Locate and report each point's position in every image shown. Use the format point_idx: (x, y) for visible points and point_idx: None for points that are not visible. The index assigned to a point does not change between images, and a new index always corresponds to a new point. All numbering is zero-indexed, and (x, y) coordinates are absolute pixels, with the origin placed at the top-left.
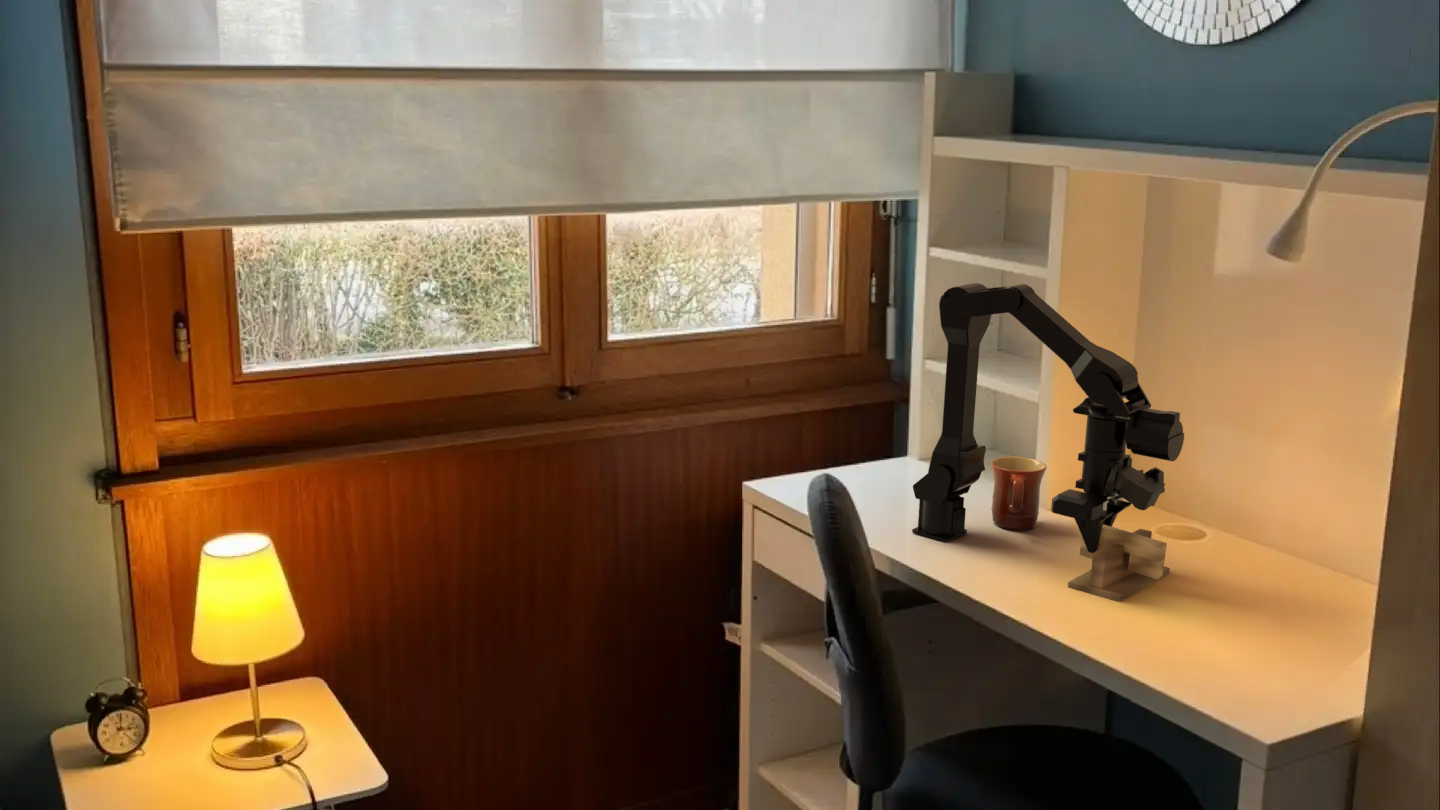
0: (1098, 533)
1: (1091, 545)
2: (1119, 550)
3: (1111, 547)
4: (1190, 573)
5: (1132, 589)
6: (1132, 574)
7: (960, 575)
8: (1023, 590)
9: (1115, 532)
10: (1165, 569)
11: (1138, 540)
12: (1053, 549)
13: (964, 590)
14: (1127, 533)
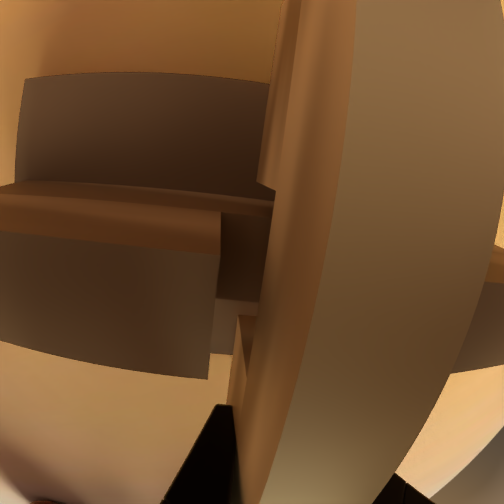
0: (400, 488)
1: None
2: (489, 275)
3: (496, 333)
4: (6, 31)
5: None
6: (230, 182)
7: (422, 485)
8: (477, 395)
9: (409, 445)
10: (52, 82)
11: (495, 150)
12: (127, 472)
13: (487, 442)
14: (387, 361)
